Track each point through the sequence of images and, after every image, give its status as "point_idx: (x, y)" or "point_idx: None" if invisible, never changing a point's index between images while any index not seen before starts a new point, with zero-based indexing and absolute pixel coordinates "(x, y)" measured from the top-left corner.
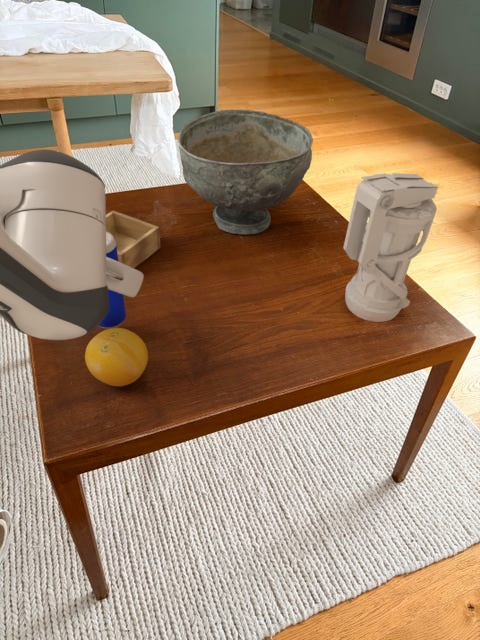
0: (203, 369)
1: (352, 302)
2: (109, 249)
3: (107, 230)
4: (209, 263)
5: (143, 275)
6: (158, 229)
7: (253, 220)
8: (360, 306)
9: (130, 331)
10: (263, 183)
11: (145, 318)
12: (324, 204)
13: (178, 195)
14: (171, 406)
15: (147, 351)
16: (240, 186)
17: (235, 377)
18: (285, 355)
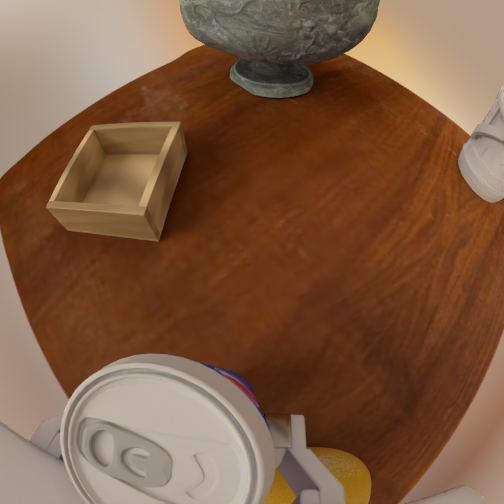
0: (413, 393)
1: (486, 187)
2: (268, 488)
3: (93, 160)
4: (285, 156)
5: (483, 497)
6: (180, 126)
7: (299, 75)
8: (493, 191)
9: (336, 476)
10: (357, 22)
11: (261, 336)
12: None
13: (167, 71)
14: (399, 474)
15: (364, 464)
16: (327, 26)
17: (451, 377)
18: (476, 300)
